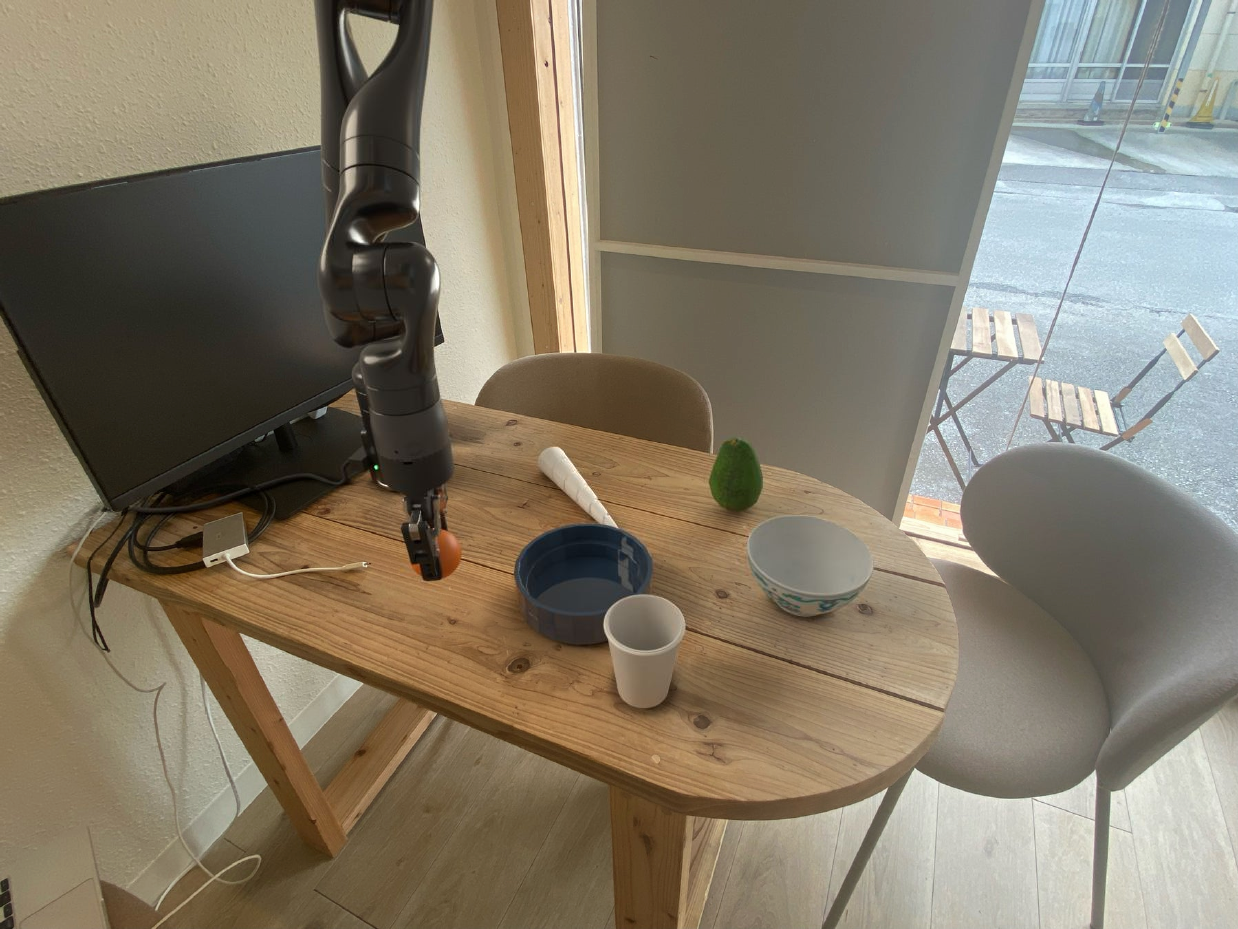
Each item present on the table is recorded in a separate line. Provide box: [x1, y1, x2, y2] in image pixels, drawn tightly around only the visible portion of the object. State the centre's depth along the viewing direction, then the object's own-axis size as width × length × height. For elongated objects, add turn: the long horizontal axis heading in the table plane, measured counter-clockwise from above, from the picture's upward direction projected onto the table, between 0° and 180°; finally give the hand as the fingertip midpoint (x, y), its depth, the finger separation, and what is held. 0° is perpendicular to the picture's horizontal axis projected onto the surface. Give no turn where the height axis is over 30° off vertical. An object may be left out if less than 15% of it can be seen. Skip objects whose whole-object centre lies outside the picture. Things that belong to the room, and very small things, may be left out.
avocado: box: [708, 436, 764, 512], centre depth 96 cm, size 8×8×12 cm
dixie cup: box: [604, 594, 686, 709], centre depth 68 cm, size 8×8×10 cm
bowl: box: [513, 522, 654, 645], centre depth 81 cm, size 17×17×6 cm
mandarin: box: [408, 529, 463, 580], centre depth 76 cm, size 6×6×6 cm
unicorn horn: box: [537, 446, 619, 528], centre depth 98 cm, size 5×24×5 cm, turn 29°
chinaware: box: [746, 514, 875, 618], centre depth 80 cm, size 15×15×8 cm
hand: (436, 559), depth 76 cm, fingers closed on mandarin, 6 cm apart
